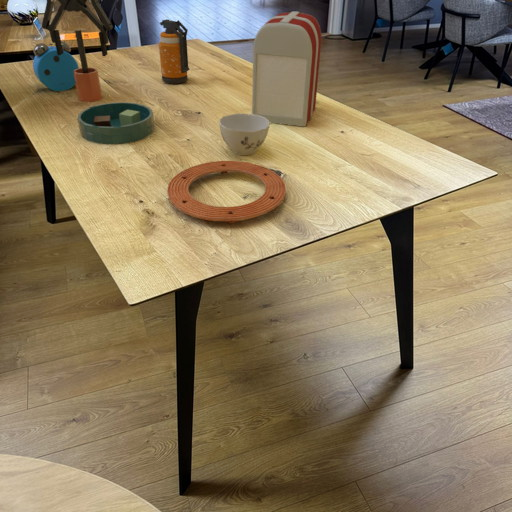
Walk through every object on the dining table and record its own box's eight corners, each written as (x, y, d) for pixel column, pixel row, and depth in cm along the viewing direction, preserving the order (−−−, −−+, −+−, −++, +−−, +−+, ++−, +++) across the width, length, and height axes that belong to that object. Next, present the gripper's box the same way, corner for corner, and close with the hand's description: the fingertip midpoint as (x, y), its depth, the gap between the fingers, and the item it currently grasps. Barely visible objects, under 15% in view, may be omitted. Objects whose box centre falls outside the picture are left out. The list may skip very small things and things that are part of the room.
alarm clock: (77, 84, 165) (68, 37, 157) (83, 89, 161) (74, 41, 152) (38, 90, 159) (26, 42, 150) (43, 95, 155) (31, 46, 146)
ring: (267, 237, 91) (267, 226, 89) (147, 215, 96) (145, 204, 95) (297, 179, 110) (298, 169, 109) (195, 163, 116) (195, 154, 115)
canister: (174, 76, 176) (169, 16, 164) (197, 81, 170) (194, 20, 159) (157, 81, 170) (150, 19, 158) (180, 87, 165) (175, 24, 153)
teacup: (274, 159, 119) (275, 128, 114) (224, 163, 116) (223, 132, 112) (260, 136, 131) (260, 107, 126) (214, 139, 128) (213, 110, 123)
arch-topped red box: (316, 107, 150) (325, 12, 134) (306, 127, 136) (315, 24, 121) (265, 102, 154) (268, 9, 138) (250, 121, 140) (251, 19, 124)
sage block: (121, 128, 132) (118, 113, 130) (129, 123, 135) (127, 109, 133) (133, 130, 131) (131, 116, 129) (141, 125, 134) (139, 111, 132)
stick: (86, 98, 152) (73, 30, 140) (88, 97, 153) (75, 29, 141) (92, 99, 152) (79, 30, 140) (94, 97, 153) (81, 29, 141)
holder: (75, 103, 150) (69, 73, 145) (83, 95, 156) (77, 67, 150) (98, 103, 150) (93, 74, 144) (105, 96, 156) (100, 67, 150)
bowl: (70, 145, 124) (66, 126, 121) (94, 118, 140) (91, 101, 137) (145, 147, 123) (143, 128, 120) (160, 120, 139) (159, 103, 136)
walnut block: (96, 136, 127) (94, 121, 125) (97, 130, 130) (94, 116, 128) (112, 135, 128) (109, 120, 126) (112, 129, 131) (110, 115, 129)
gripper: (115, -27, 135) (126, 52, 147) (28, -29, 136) (47, 50, 148) (108, -24, 129) (120, 58, 141) (16, -26, 129) (37, 56, 142)
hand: (82, 54), depth 145 cm, fingers open, 13 cm apart
